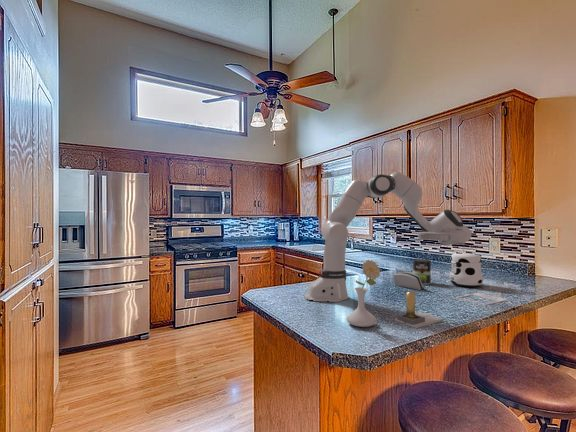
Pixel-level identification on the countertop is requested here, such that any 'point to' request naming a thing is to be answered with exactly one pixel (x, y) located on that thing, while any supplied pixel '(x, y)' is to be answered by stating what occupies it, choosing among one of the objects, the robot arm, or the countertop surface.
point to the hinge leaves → (418, 319)
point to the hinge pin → (410, 305)
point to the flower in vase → (361, 314)
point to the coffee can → (422, 270)
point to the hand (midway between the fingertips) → (430, 237)
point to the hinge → (408, 280)
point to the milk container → (466, 270)
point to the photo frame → (484, 297)
